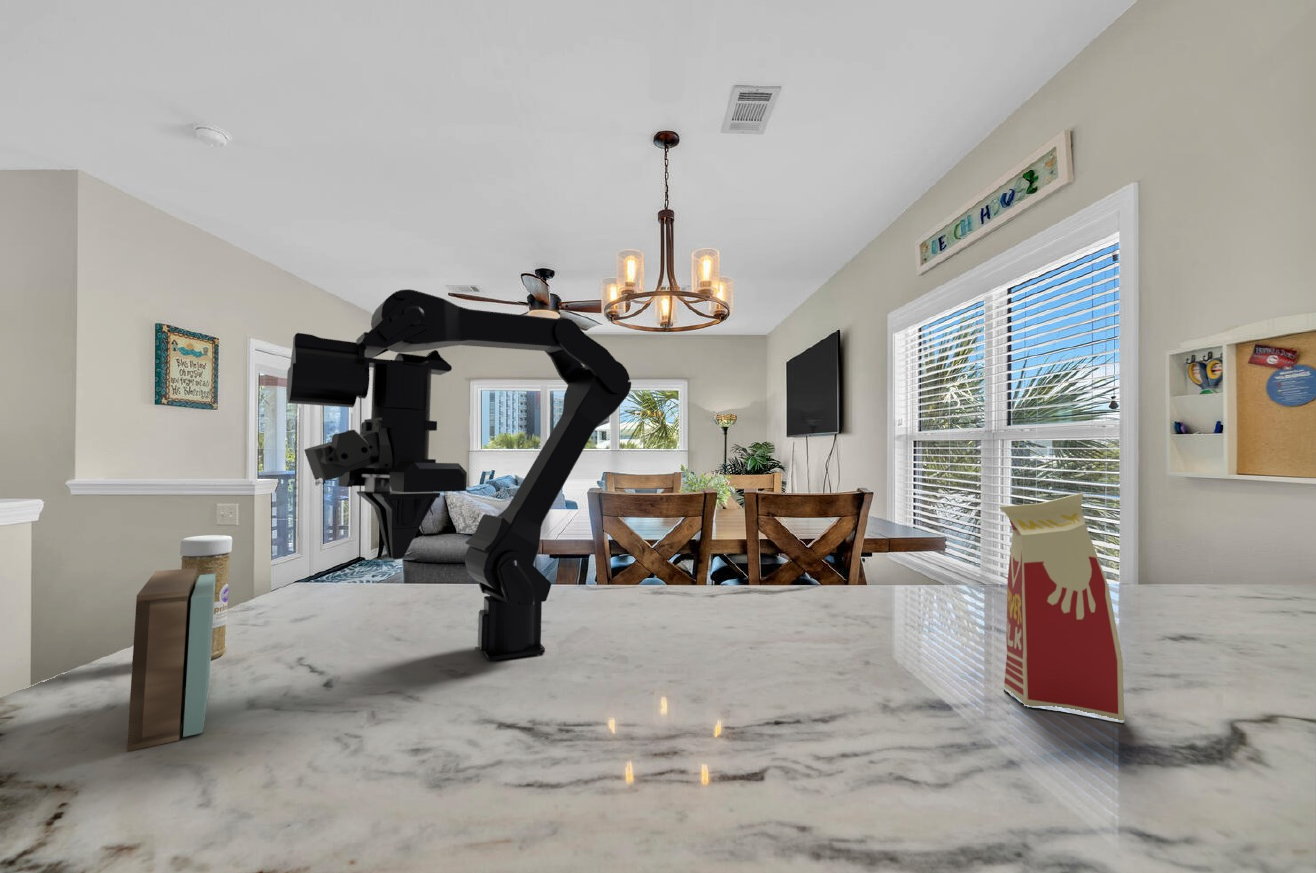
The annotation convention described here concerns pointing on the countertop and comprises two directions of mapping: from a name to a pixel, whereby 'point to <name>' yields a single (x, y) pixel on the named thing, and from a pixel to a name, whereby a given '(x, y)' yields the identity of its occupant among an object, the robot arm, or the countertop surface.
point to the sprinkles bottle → (214, 559)
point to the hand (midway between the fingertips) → (395, 558)
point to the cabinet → (160, 658)
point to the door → (199, 654)
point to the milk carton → (1060, 613)
